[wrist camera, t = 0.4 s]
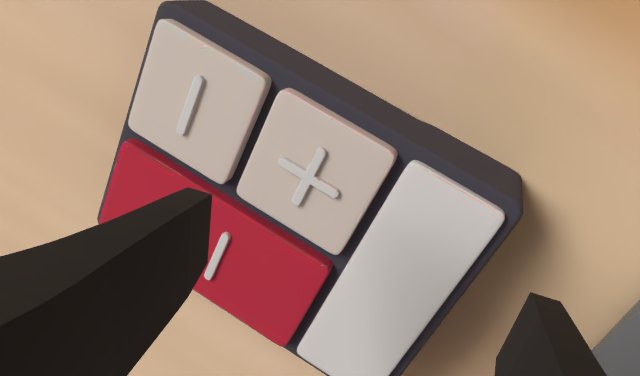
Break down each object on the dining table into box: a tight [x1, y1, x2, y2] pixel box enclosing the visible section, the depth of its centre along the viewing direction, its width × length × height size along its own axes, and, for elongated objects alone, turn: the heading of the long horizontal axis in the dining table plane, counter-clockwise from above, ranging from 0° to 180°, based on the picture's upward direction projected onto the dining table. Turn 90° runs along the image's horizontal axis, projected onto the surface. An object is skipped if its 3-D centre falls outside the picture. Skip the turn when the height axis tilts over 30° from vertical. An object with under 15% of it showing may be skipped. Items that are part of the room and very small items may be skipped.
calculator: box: [98, 0, 523, 376], centre depth 22 cm, size 11×4×15 cm
